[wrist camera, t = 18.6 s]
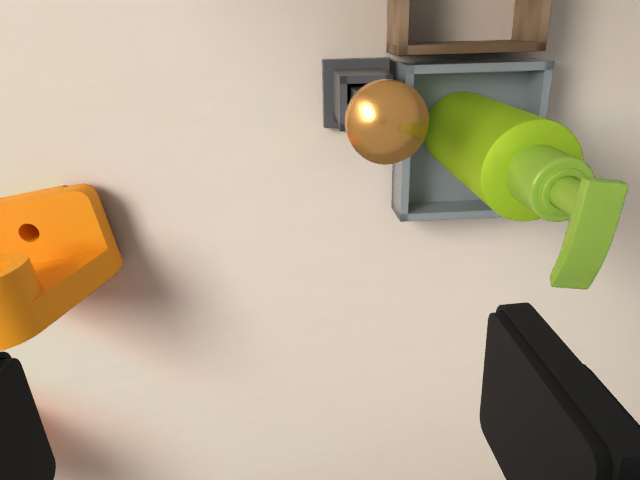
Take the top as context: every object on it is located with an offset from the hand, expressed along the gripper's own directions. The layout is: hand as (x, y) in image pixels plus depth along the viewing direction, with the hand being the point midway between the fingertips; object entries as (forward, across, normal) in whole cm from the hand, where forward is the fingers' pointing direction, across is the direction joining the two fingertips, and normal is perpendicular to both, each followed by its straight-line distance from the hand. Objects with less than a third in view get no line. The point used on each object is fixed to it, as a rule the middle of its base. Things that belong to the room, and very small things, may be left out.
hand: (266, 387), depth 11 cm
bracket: (+33, +19, +9) cm, 40 cm away
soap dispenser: (+32, -15, +3) cm, 35 cm away
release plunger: (+32, -7, -1) cm, 32 cm away
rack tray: (+33, -15, +3) cm, 36 cm away
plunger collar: (+33, -7, -1) cm, 34 cm away
